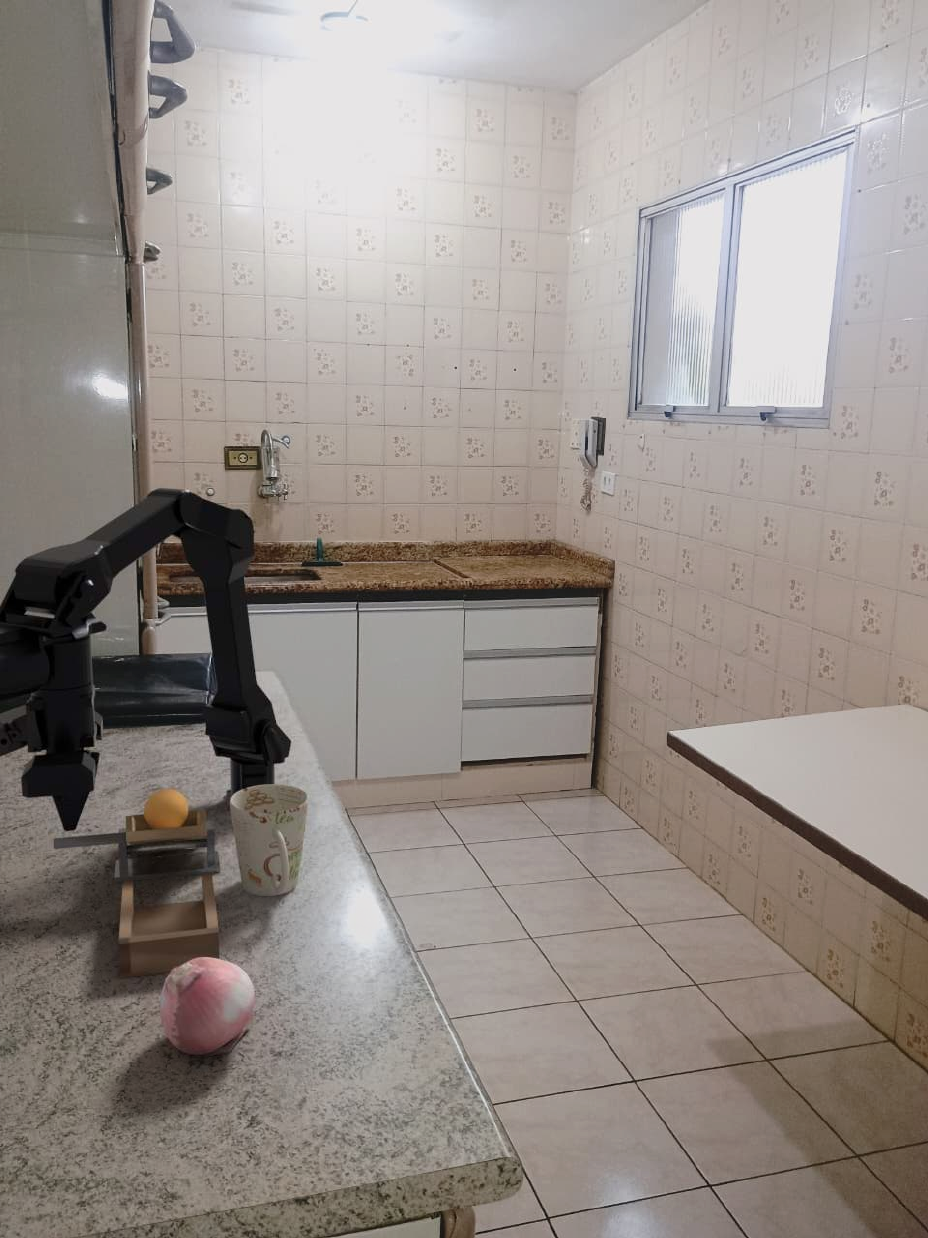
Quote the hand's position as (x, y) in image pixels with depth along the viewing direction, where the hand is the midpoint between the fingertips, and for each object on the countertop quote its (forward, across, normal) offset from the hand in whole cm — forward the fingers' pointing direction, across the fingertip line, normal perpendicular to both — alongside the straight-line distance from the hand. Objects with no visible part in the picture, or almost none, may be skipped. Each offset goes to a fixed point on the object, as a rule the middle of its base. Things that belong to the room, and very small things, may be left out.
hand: (70, 829), depth 101 cm
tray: (+8, +10, +9) cm, 16 cm away
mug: (+8, +2, +20) cm, 22 cm away
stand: (+8, -6, +9) cm, 14 cm away
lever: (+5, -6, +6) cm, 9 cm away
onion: (+8, +27, +12) cm, 31 cm away
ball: (+4, -12, +10) cm, 15 cm away
